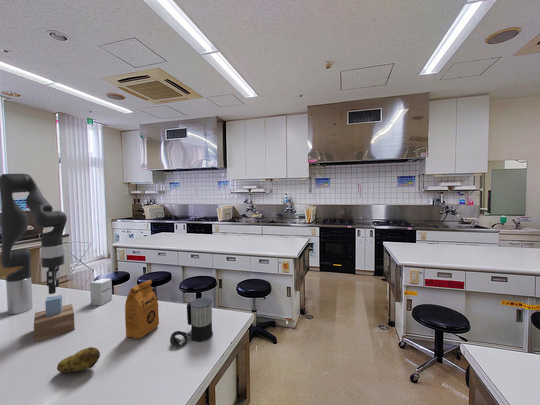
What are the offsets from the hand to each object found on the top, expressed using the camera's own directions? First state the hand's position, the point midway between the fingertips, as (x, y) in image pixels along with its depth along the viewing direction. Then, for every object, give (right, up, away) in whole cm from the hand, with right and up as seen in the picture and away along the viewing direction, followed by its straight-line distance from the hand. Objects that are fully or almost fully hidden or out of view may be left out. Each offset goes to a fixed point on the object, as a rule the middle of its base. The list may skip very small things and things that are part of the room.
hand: (54, 290), depth 108 cm
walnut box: (0, -18, 0) cm, 18 cm away
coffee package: (+42, -18, -2) cm, 46 cm away
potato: (+33, -19, -26) cm, 46 cm away
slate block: (0, -10, 0) cm, 11 cm away
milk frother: (+66, -18, -8) cm, 69 cm away
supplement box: (+2, -18, +28) cm, 33 cm away
